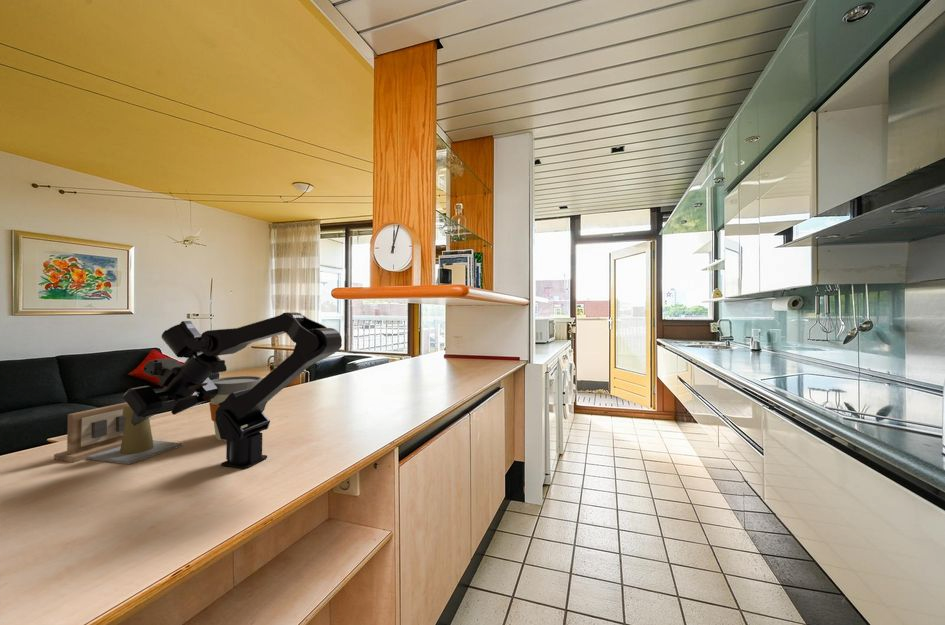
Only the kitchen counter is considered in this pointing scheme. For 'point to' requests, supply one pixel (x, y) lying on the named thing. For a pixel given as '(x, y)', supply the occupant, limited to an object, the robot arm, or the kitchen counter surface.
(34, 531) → the kitchen counter surface
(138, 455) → the mat
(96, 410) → the switch panel
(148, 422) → the cork
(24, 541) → the kitchen counter surface
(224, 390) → the reusable coffee cup
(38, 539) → the kitchen counter surface
